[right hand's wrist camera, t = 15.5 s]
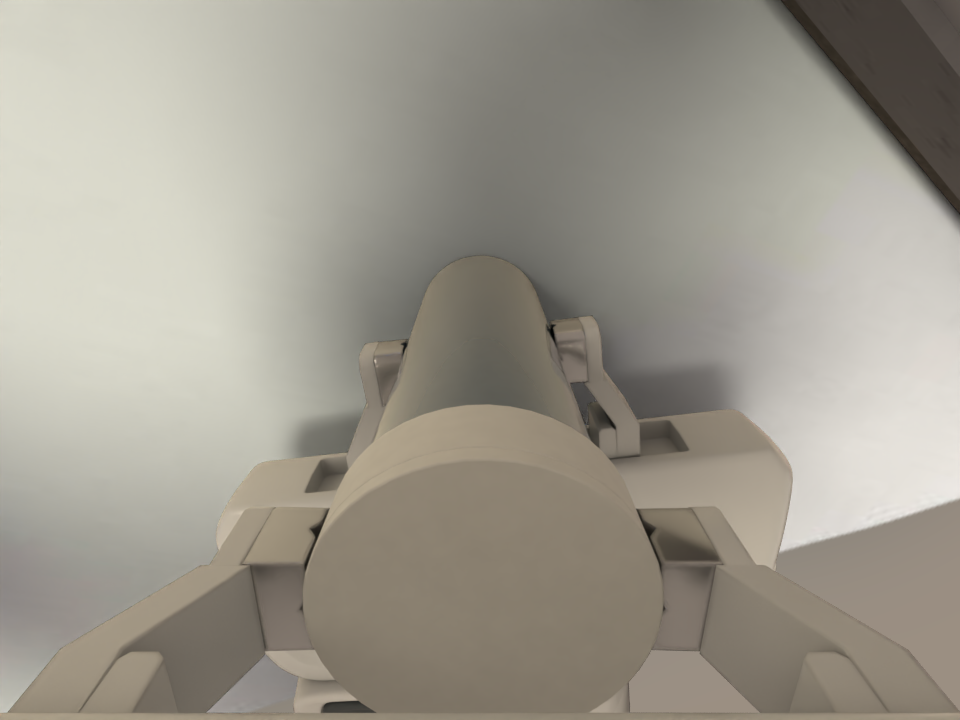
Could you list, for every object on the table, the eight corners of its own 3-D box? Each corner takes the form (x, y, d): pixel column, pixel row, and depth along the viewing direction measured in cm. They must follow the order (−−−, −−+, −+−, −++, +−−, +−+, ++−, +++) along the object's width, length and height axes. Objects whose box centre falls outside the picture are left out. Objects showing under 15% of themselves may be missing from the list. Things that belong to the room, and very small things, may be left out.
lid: (395, 352, 9) (378, 399, 8) (694, 475, 10) (736, 541, 8) (290, 600, 11) (256, 681, 9) (549, 687, 12) (561, 775, 10)
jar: (449, 234, 23) (395, 411, 8) (560, 284, 24) (696, 531, 9) (404, 341, 25) (289, 651, 10) (508, 385, 25) (551, 735, 11)
